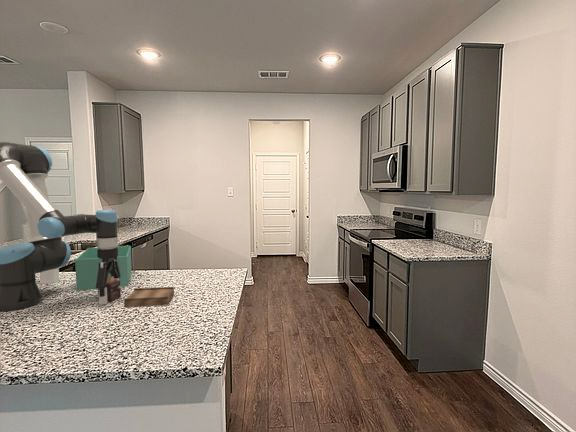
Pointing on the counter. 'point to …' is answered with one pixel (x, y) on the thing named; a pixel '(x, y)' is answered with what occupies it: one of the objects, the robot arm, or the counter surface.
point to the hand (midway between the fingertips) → (109, 298)
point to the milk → (49, 276)
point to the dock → (149, 297)
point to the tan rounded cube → (110, 279)
